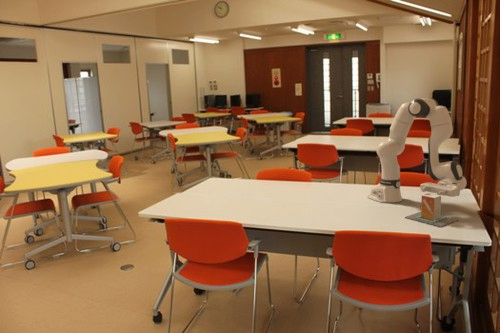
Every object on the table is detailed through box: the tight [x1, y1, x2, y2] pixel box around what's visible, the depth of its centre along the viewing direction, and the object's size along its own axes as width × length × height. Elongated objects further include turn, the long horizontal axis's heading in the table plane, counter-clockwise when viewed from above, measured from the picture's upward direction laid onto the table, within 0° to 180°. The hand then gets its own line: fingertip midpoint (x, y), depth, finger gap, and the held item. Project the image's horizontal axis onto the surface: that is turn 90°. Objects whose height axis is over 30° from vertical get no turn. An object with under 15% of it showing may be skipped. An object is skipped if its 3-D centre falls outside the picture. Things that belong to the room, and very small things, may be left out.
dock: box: [404, 211, 459, 228], centre depth 245 cm, size 22×16×1 cm
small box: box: [420, 192, 442, 221], centre depth 244 cm, size 8×6×13 cm
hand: (430, 191), depth 242 cm, fingers open, 8 cm apart
